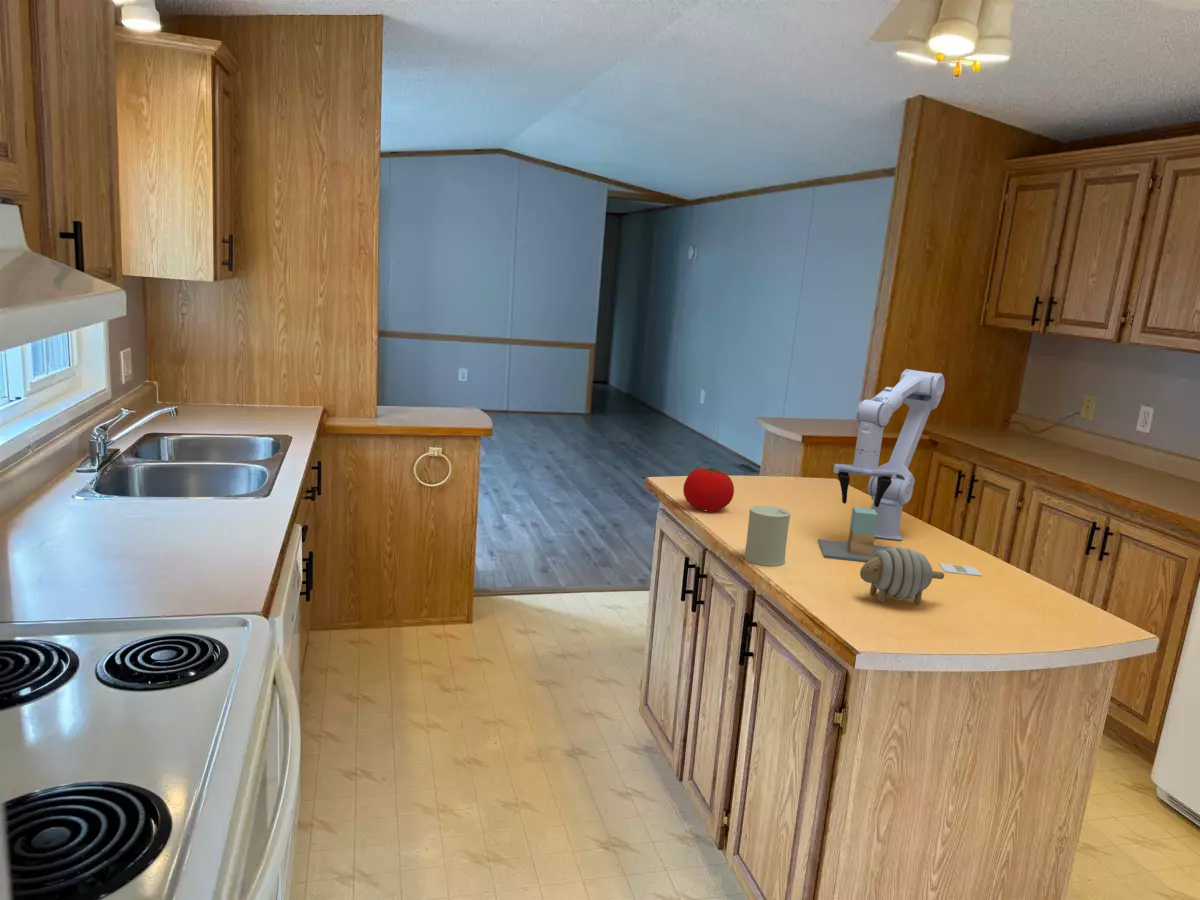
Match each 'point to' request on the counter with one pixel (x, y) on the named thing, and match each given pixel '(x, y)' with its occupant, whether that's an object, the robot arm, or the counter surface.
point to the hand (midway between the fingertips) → (860, 504)
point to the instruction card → (960, 569)
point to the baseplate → (844, 551)
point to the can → (767, 535)
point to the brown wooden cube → (860, 543)
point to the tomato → (708, 489)
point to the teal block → (863, 521)
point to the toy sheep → (898, 574)
